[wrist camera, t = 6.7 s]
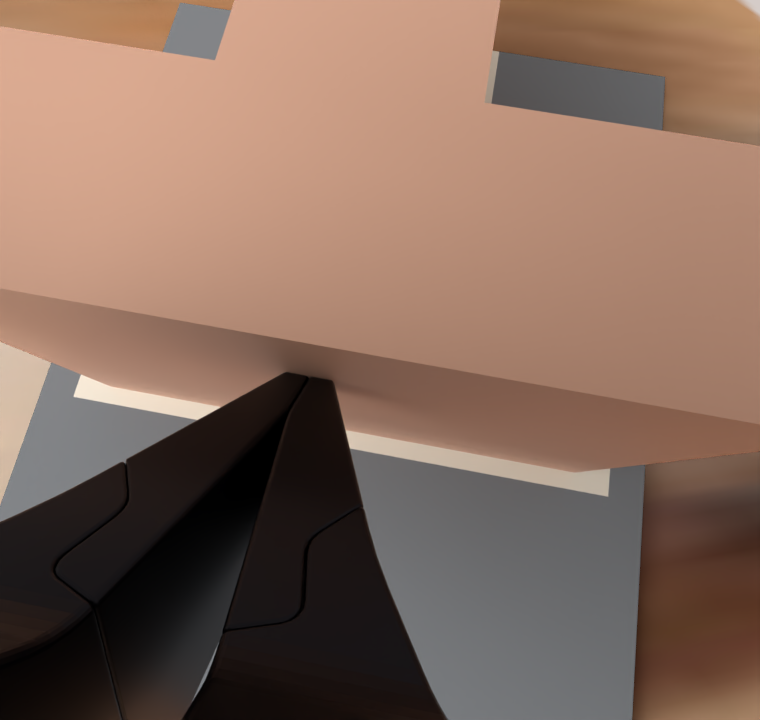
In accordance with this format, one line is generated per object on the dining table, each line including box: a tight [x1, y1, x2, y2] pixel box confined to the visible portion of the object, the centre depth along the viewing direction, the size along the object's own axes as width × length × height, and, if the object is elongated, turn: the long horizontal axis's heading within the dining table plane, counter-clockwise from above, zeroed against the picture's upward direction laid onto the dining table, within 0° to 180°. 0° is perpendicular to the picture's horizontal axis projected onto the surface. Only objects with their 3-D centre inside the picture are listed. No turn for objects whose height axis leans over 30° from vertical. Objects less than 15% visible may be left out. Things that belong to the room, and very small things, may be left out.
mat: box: [0, 3, 665, 720], centre depth 16 cm, size 23×18×1 cm
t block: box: [0, 0, 760, 473], centre depth 12 cm, size 13×14×9 cm
